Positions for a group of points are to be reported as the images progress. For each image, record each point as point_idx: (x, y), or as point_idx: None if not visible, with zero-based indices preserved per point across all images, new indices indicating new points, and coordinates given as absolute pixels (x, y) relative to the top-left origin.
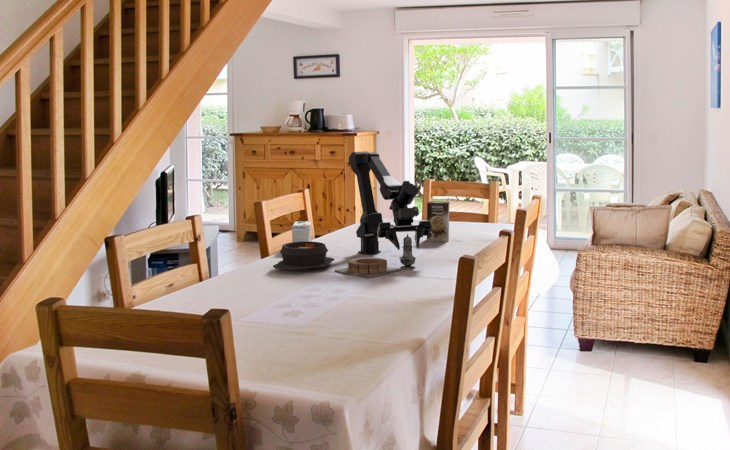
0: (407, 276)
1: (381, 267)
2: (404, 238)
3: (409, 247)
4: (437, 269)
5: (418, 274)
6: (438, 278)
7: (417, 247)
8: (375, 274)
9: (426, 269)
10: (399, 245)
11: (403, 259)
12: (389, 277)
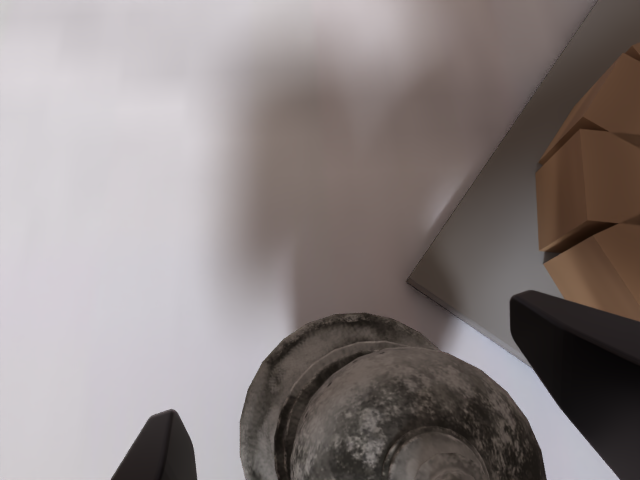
0: (320, 64)
1: (581, 106)
2: (512, 409)
3: (336, 359)
4: (27, 367)
5: (230, 136)
6: (76, 12)
7: (178, 415)
8: (582, 47)
9: (145, 360)
10: (544, 312)
11: (403, 326)
12: (456, 28)
